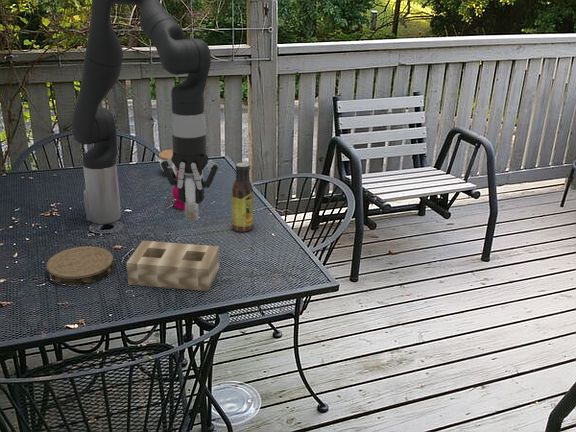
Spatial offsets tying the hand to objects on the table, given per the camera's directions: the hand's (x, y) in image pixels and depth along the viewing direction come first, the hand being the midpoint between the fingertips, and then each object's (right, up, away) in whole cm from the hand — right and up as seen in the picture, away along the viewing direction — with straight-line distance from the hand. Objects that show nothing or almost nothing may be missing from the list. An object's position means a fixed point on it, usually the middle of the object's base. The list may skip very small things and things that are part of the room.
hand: (191, 201), depth 137 cm
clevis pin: (0, -4, +2) cm, 4 cm away
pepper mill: (-10, 0, +49) cm, 50 cm away
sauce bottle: (+9, -7, +35) cm, 37 cm away
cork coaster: (-30, -18, +10) cm, 36 cm away
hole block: (-6, -18, +9) cm, 21 cm away
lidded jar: (-19, +12, +75) cm, 78 cm away
